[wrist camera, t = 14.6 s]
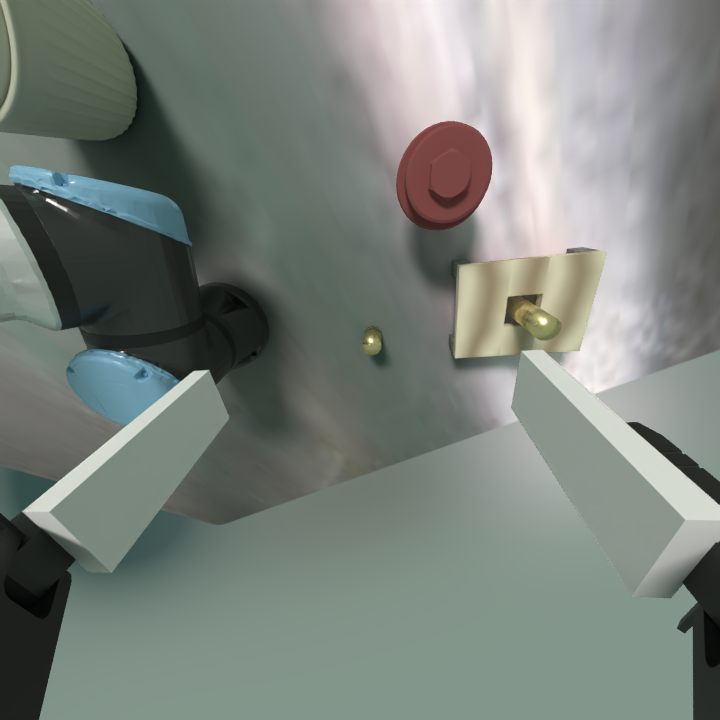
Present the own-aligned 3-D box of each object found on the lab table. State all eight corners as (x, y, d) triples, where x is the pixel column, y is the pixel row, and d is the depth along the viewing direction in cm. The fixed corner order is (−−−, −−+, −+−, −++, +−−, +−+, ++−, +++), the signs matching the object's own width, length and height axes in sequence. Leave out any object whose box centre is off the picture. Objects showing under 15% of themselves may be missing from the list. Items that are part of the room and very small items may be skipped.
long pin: (497, 311, 44) (532, 341, 34) (499, 292, 43) (536, 318, 32) (517, 309, 44) (558, 339, 33) (520, 290, 43) (564, 316, 32)
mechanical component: (453, 120, 34) (481, 201, 37) (381, 171, 37) (414, 240, 41) (484, 77, 23) (519, 196, 27) (379, 153, 26) (424, 251, 30)
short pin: (365, 342, 49) (363, 355, 45) (363, 327, 48) (361, 338, 43) (382, 341, 49) (381, 354, 44) (380, 325, 47) (380, 337, 43)
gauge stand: (448, 344, 48) (455, 358, 43) (451, 261, 41) (459, 266, 37) (560, 337, 45) (579, 350, 41) (582, 247, 39) (607, 251, 35)
